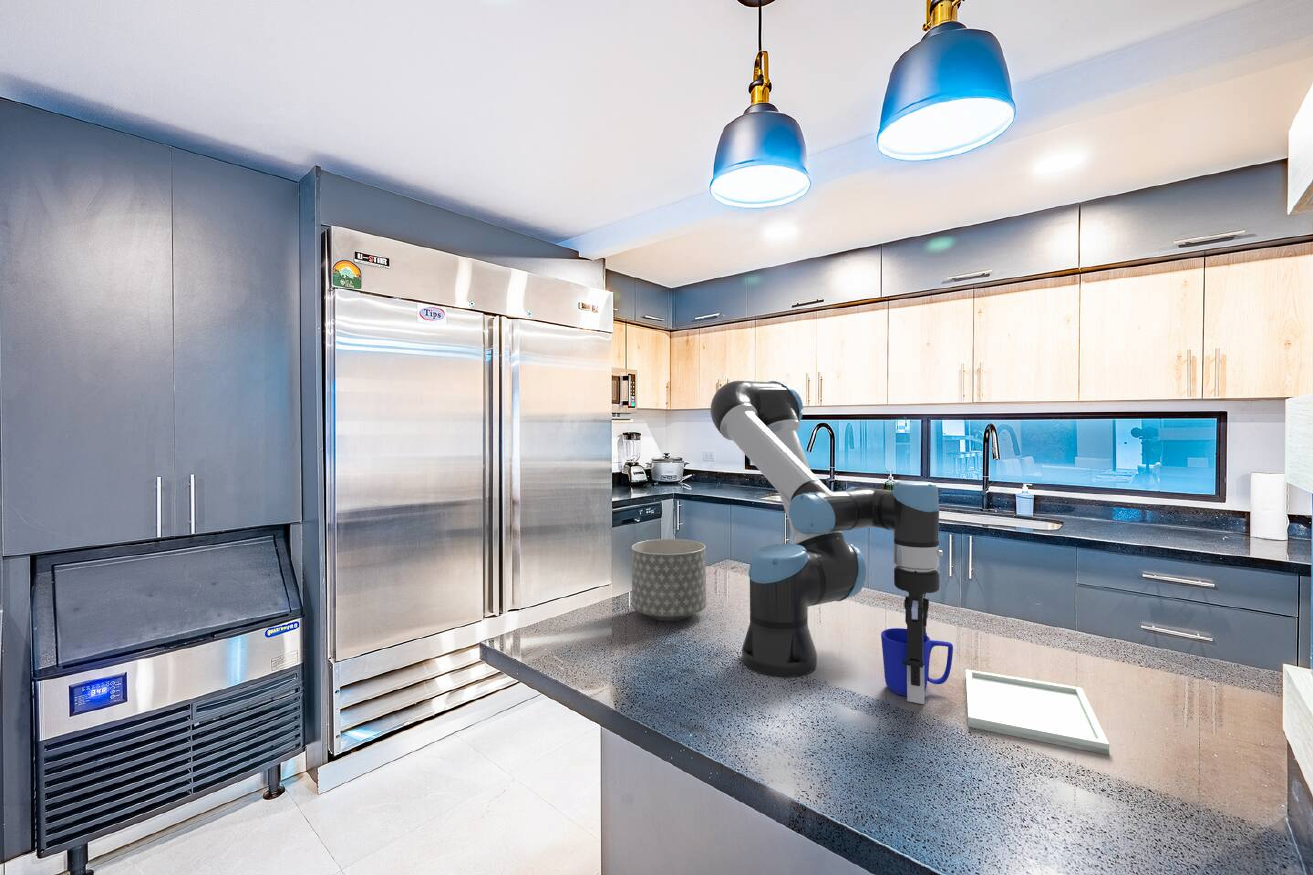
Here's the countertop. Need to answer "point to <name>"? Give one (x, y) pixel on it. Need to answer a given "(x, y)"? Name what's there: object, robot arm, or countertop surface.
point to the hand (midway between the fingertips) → (917, 689)
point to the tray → (1033, 711)
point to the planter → (669, 578)
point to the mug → (897, 653)
